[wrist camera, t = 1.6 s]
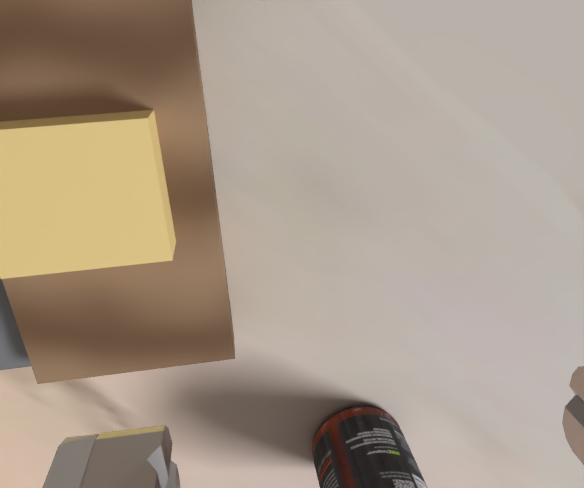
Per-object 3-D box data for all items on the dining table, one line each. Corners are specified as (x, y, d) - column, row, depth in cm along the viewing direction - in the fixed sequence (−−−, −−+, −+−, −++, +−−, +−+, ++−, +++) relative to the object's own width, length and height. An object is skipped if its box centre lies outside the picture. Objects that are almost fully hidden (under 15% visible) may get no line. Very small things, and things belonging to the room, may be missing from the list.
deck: (-89, -73, 18) (-123, -84, 17) (180, -84, 19) (176, -95, 18) (49, 359, 27) (37, 383, 25) (233, 336, 28) (234, 358, 26)
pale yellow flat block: (-25, 123, 20) (-50, 133, 18) (153, 109, 20) (147, 118, 18) (18, 257, 22) (0, 279, 20) (176, 241, 23) (172, 260, 21)
